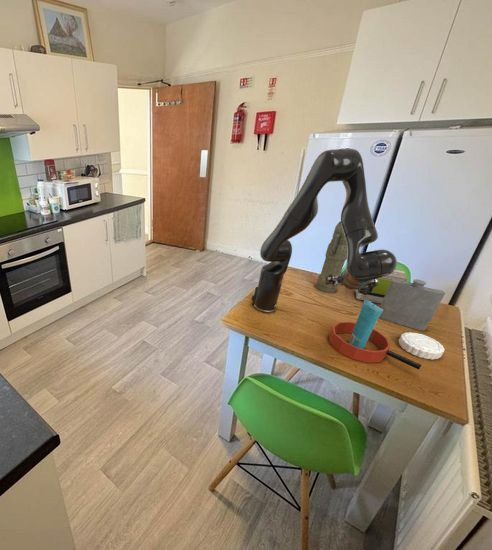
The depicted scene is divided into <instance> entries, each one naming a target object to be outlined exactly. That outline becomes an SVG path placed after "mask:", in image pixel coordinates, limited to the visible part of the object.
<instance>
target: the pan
mask: <svg viewBox="0 0 492 550" xmlns="http://www.w3.org/2000/svg"><path fill="white" fill-rule="evenodd" d="M355 325H356V322H352V321H340V322H336V323H335V324H334V325H332V328H331V330H330V333H329V335H328V339H329V345H331V346H332V347H333V348H334V349H335V350H336V351H337V352H338V353H340V354H342V355H344V356H345V357H348V358H350V359H352V360H356V361H358V362H363V363H366V364H367V363H369V364H370V363H371V364H372V363H380V362H382V361H383V360H384V359H385V358H386V357H387V356H389V357H391V358H393V359H395V360H397V361H398V362H399V361H400V362H402V363H403V364H406V365H408V366H410V367H412V368H414V369H415V370H420V369H421V368H422V364H421V363H418V362H416V361H414V360H412V359H409V358H408V357H405V356H403V355H401V354H399V353H396V352H394V351H392V350H390V349H391V343H390V341H389V339H388V337H386V336H385V335H384V334H383V333H381V332H380V331H378V330H377V329H375V328H373V330H372V332H371V334H370V336H369V339H368V341H371V342H372V343H373V344H374V345H375V346H377V347H378V348H379V349H380V350H379V349H378V350H371V349H365V348H364V349H361V348H357V347H355V346H353V345H351V344H349V342H346V341H344V339H343V338H342V337H340V336H339V335H338V334H343V333H345V334H346V333H347V334H351V335H352V333H353V330H354V327H355Z"/></svg>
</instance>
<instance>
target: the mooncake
mask: <svg viewBox="0 0 492 550" xmlns="http://www.w3.org/2000/svg"><path fill="white" fill-rule="evenodd" d="M398 345H399V346H400V347H401V349H403V350H405V352H406V353H410V355H412V356H416V357H418V358H421V359H425V360H438V359H441V358H442V356H443V354H444V352H445V350H446V349H445V347H444V345H443V344H441V342H439V341H437V340H436V339H435V338H432V337H430V336H428V335H425V334H423V333H418V332H413V331H412V332H411V331H408V332H404V333H402V334H401V335H400V337H399V338H398Z"/></svg>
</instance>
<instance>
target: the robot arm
mask: <svg viewBox="0 0 492 550" xmlns="http://www.w3.org/2000/svg"><path fill="white" fill-rule="evenodd" d="M362 157H363V156H362V155H361V153H360V152H359V151H358V150H357V149H355V148H337V149H336V148H335V149H334V148H333V149H327V150H323V152H321V153H320V154H318V156H317V157H316V159H315V160H314V162H313V163H312V166H311V167H310V169H309V171H308V174H307V176H306V178H305V179H304V181H303V183H302V185H301V187H300V189H299V191H298V192H297V194H296V196H295V197H294V199H293V200H292V201H291V203H290V205H289V206H288V207H287V209H286V211H285V212H284V214H283V216H282V218H281V219H280V221H279V222H278V224H277V225H276V226H275V228H274V229H273V230H272V231H271V233H270V234H269V235H268V236H267V238H266V239H265V240H264V241H263V243H262V244H261V247H260V253H259V254H260V255H259V256H260V258H261V260H263V261H264V262H268V263H267V264H264V265H263V266H262V267H261V269H260V275H259V279H258V283H257V286H256V287H255V289H254V294H252V295H251V301H252V304H251V306H253V307H254V308H255V309H256V310H257V311H259V312H262V313H267V314H268V313H274V312H275V311H276V310H277V306H278V304H279V302H278V300H279V297H280V292H281V289H282V284H283V280H284V277H285V274H286V272H287V270H288V267H289V264H290V261H291V258H292V255H293V245H292V243H291V241H290V240H291V239H292V238H294V237H295V236H298V235H299V234H301V233H302V232H303V231H305V230H306V229H307V228H308V227H309V226H310V225H311V224H312V222H313V220H314V219H316V217H317V215H318V213H319V201H318V200H319V199H318V196H319V195H320V192H321V191H322V189H323V188H325V186H326V185H327V184H328V183H331V182H332V183H333V182H342V184H343V186H344V189H345V200H344V204H343V206H342V210H341V212H340V221H341V225H342V228H343V231H344V235H345V238H346V242H347V259H346V264H345V265H346V268H345V269H344V270H343V271H341V274H340V276H336V277H333V275H328V276H327V277H326V283H325V284H326V285H328V284H330V285H332V287H334V286H335V285H337V286H338V287H342V286H343V287H345V288H346V289H349V290H354V291H355V290H357V289H363V288H367V287H368V286H370V287H372V288H374V287H376V286H377V285H378V278H380V277H383V276H387V275H389V274H391V273H392V272H393V271H394V270H395V269H396V268H397V266H398V261H397V256H395V254H394V253H393V252H392V251H390V250H389V249H383V248H382V249H381V248H379V249H375V250H370V251H364V252H360V249H361V248H362V247H364V246H367V245H370V244H372V243H375V242H376V241H377V240H378V239H379V235H378V231H377V228H376V225H375V222H374V220H373V217H372V213H371V209H370V206H369V200H368V193H367V184H366V182H367V181H366V176H365V167H364V161H363V158H362ZM335 282H336V283H335Z"/></svg>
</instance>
